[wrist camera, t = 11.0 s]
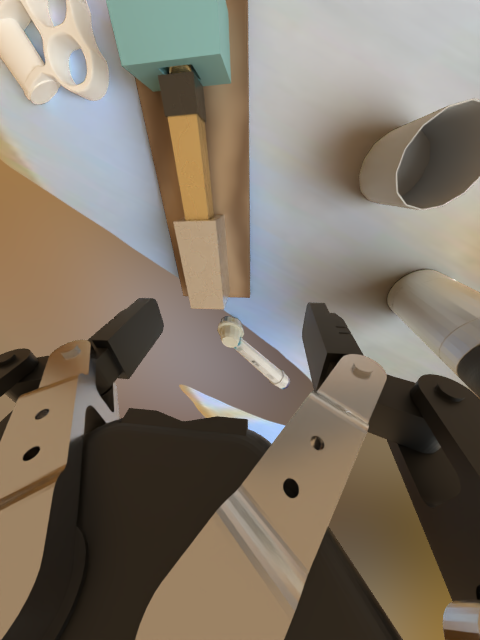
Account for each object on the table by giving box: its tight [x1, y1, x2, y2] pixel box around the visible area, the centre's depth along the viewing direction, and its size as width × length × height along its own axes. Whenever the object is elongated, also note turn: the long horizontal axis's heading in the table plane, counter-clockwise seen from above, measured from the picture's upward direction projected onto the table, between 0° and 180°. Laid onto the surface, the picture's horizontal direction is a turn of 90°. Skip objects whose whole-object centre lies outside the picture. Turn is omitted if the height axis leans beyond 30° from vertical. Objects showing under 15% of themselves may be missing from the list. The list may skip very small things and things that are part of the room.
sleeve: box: [173, 215, 230, 309], centre depth 33 cm, size 6×14×6 cm, turn 2°
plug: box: [158, 64, 214, 220], centre depth 26 cm, size 4×22×4 cm, turn 2°
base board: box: [135, 0, 250, 298], centre depth 31 cm, size 14×36×2 cm, turn 2°
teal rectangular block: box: [106, 0, 231, 92], centre depth 20 cm, size 10×5×6 cm, turn 92°
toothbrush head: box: [217, 316, 290, 389], centre depth 48 cm, size 5×7×25 cm
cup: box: [359, 98, 480, 210], centre depth 23 cm, size 8×8×10 cm
